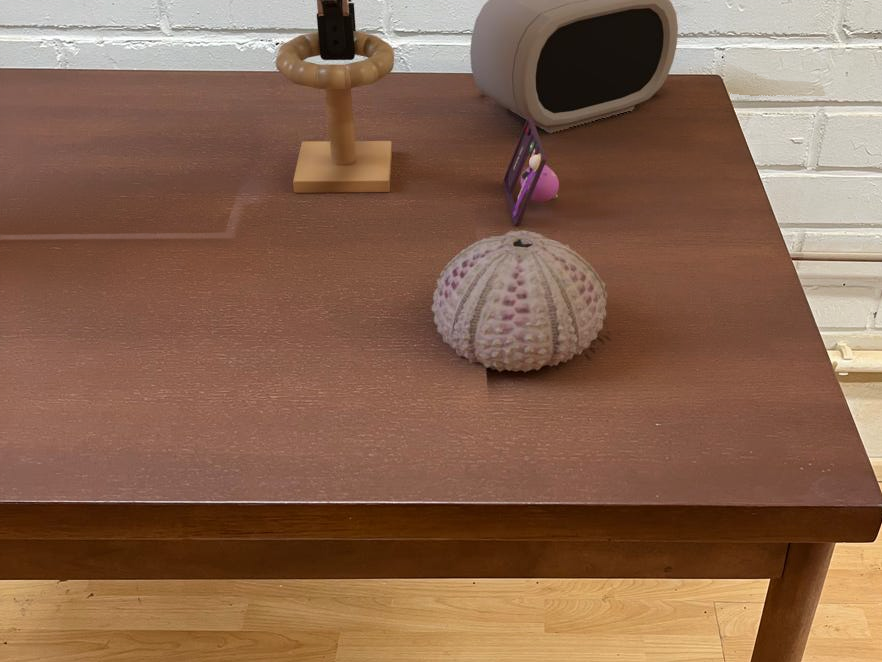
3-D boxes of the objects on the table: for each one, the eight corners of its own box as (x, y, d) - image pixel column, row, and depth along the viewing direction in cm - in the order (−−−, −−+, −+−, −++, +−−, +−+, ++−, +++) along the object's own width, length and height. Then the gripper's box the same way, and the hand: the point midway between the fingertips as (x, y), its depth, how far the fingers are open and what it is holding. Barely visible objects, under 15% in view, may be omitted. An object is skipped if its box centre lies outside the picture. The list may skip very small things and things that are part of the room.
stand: (294, 193, 95) (282, 96, 89) (303, 152, 102) (292, 59, 96) (389, 192, 96) (384, 95, 89) (392, 152, 102) (387, 59, 96)
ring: (271, 92, 88) (268, 69, 87) (284, 49, 96) (282, 27, 95) (392, 92, 89) (391, 69, 87) (395, 49, 96) (395, 27, 95)
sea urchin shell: (416, 378, 73) (412, 282, 68) (446, 283, 83) (445, 192, 78) (599, 395, 72) (610, 298, 67) (607, 296, 82) (617, 205, 77)
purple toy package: (521, 113, 93) (535, 155, 86) (572, 130, 94) (589, 172, 88) (495, 179, 97) (507, 223, 90) (544, 194, 99) (559, 238, 92)
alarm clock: (520, 146, 103) (525, 8, 95) (470, 115, 109) (470, -18, 100) (671, 105, 112) (689, -25, 103) (617, 78, 118) (629, -47, 109)
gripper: (285, -193, 89) (306, 25, 101) (263, -157, 77) (290, 85, 89) (370, -192, 89) (381, 25, 101) (361, -157, 77) (375, 85, 89)
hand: (338, 51), depth 95 cm, fingers closed on ring, 2 cm apart
